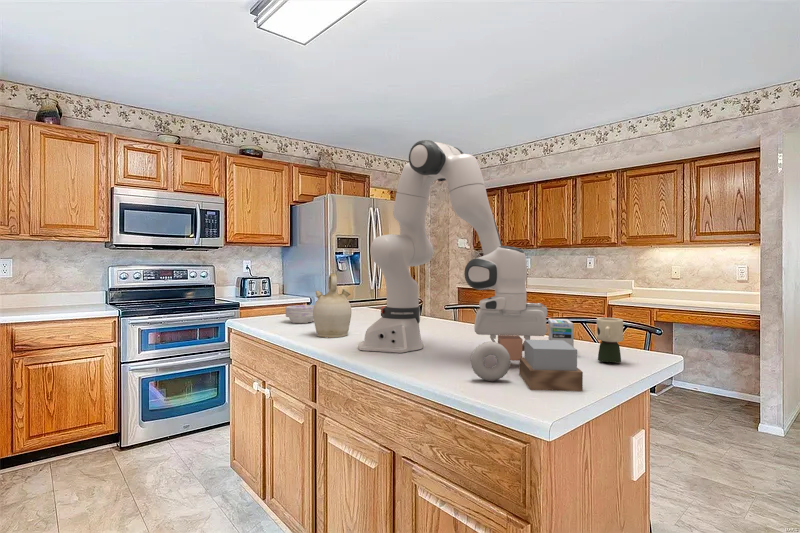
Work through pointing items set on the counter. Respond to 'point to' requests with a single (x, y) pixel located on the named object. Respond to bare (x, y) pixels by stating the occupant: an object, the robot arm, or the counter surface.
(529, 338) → the robot arm
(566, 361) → the grey top block
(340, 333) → the jug
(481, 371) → the donut
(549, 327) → the light bulb box
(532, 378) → the walnut base block
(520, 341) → the terracotta cube
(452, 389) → the counter surface
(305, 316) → the paper bowls
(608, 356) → the character mug
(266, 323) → the counter surface
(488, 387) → the counter surface
